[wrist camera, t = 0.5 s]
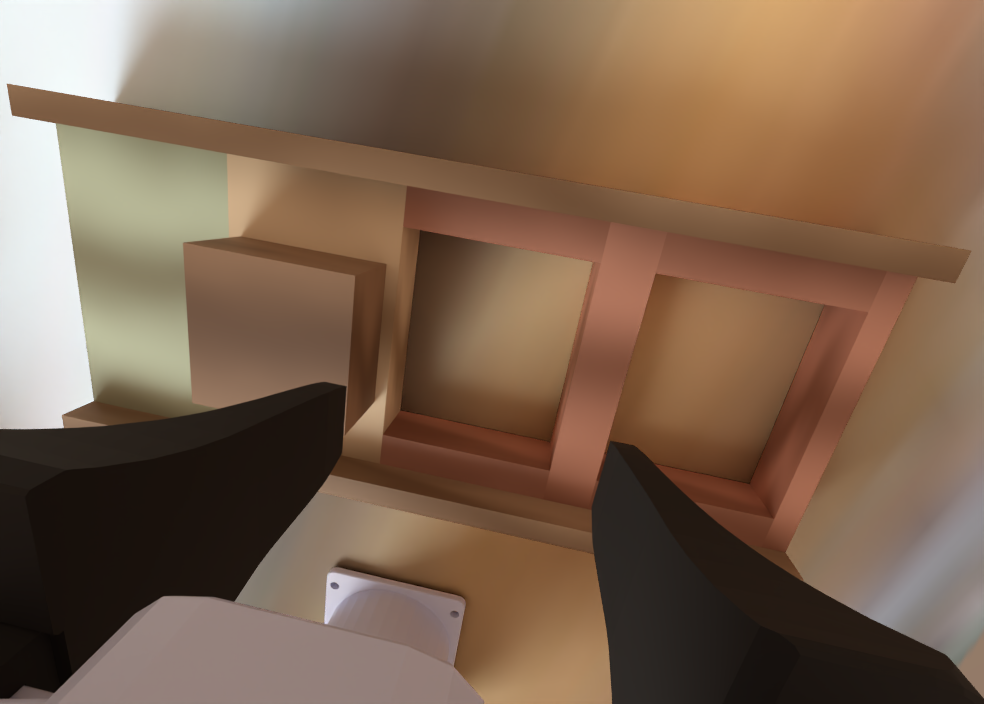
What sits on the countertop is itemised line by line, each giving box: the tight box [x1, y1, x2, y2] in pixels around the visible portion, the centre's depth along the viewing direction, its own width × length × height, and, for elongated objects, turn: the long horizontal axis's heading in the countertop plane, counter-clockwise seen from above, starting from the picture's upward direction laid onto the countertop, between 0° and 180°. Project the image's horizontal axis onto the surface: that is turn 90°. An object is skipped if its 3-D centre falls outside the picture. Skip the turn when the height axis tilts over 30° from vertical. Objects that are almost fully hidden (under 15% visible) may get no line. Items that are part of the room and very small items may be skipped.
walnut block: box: [183, 236, 387, 436], centre depth 17 cm, size 6×6×3 cm
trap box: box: [7, 84, 971, 581], centre depth 19 cm, size 14×32×4 cm, turn 81°
